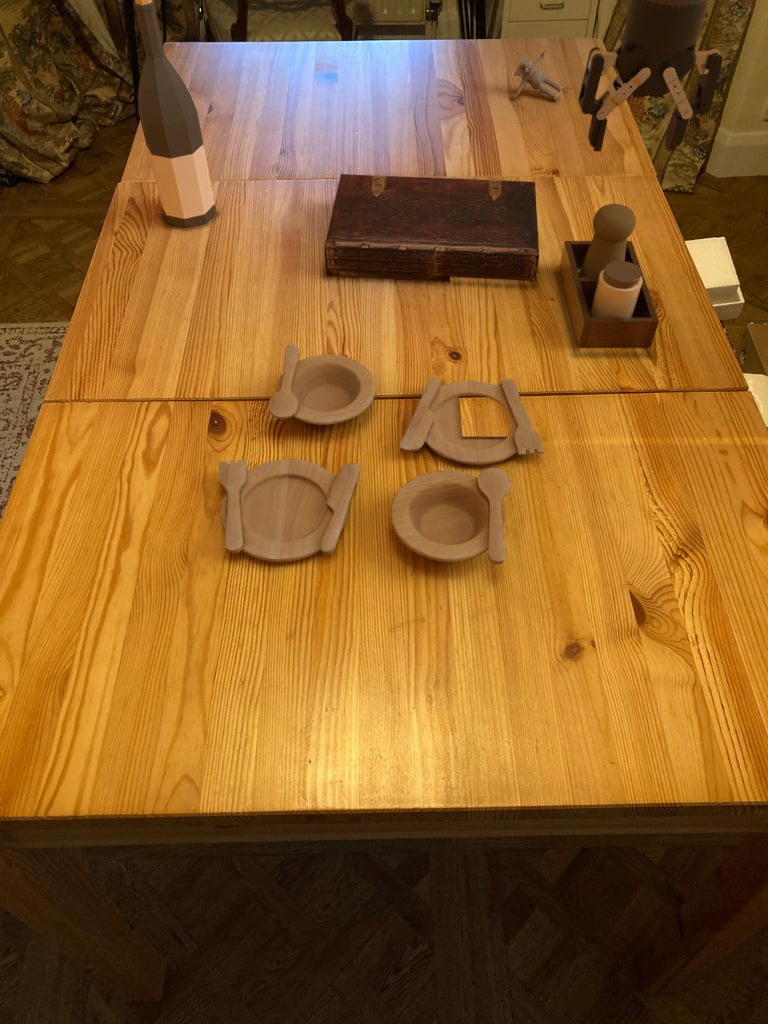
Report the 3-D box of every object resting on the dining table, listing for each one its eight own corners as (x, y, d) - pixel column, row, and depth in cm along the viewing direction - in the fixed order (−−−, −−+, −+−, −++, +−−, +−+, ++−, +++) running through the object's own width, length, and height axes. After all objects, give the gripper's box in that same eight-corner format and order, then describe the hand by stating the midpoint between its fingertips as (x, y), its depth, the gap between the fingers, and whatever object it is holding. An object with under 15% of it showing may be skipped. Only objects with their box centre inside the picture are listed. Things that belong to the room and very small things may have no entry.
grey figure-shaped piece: (544, 112, 138) (503, 84, 138) (541, 125, 144) (501, 97, 144) (578, 62, 137) (536, 33, 137) (573, 77, 143) (533, 49, 143)
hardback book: (326, 276, 108) (323, 244, 104) (342, 205, 119) (340, 174, 115) (534, 286, 106) (539, 254, 102) (530, 213, 118) (535, 181, 114)
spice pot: (624, 312, 101) (640, 258, 95) (632, 337, 98) (648, 283, 91) (584, 312, 101) (597, 258, 95) (591, 337, 98) (605, 283, 91)
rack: (622, 272, 108) (631, 240, 104) (648, 353, 97) (659, 321, 93) (558, 272, 108) (564, 240, 104) (576, 353, 97) (584, 321, 93)
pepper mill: (629, 292, 103) (651, 217, 94) (590, 302, 102) (609, 227, 93) (605, 268, 107) (624, 193, 98) (567, 277, 105) (583, 202, 97)
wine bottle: (159, 228, 115) (101, 0, 92) (167, 200, 120) (113, -23, 97) (213, 227, 115) (169, -1, 92) (219, 199, 120) (178, -24, 97)
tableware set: (192, 557, 78) (184, 533, 75) (260, 366, 96) (255, 340, 93) (540, 596, 75) (546, 572, 72) (542, 391, 93) (548, 365, 90)
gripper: (607, 2, 75) (576, 165, 87) (754, 1, 75) (702, 164, 87) (594, -25, 79) (567, 133, 92) (733, -26, 79) (686, 132, 92)
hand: (632, 148), depth 90 cm, fingers open, 8 cm apart
